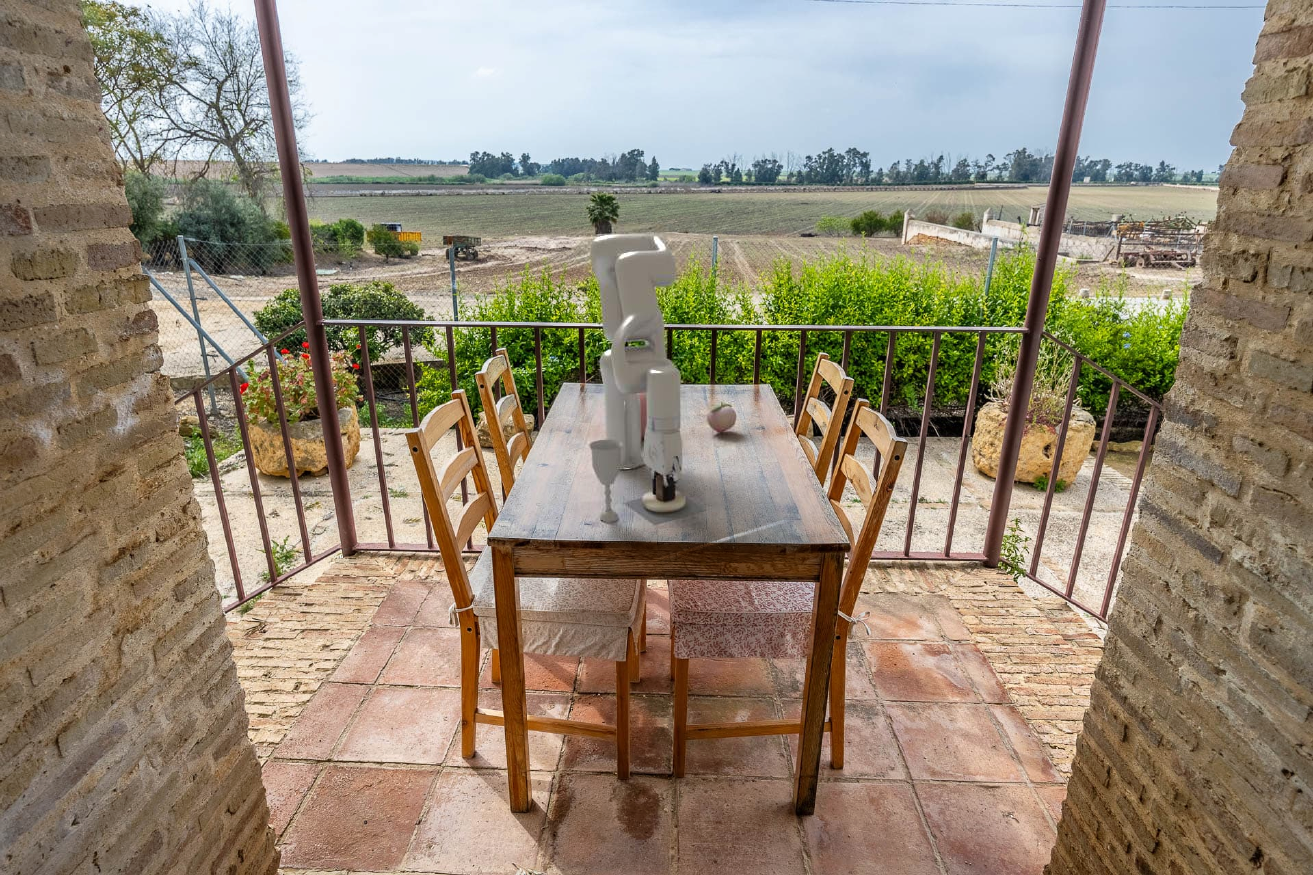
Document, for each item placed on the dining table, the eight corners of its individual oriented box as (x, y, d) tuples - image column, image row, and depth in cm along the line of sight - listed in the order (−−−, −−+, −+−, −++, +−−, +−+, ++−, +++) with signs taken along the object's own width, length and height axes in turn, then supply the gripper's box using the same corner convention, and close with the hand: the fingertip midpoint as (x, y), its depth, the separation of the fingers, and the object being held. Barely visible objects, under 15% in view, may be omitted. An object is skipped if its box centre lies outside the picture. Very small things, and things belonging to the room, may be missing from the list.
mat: (623, 504, 165) (623, 502, 165) (673, 492, 172) (673, 489, 171) (654, 527, 153) (654, 524, 153) (706, 512, 160) (706, 510, 160)
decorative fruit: (725, 440, 208) (726, 407, 205) (702, 435, 213) (702, 403, 210) (741, 431, 215) (742, 400, 212) (719, 427, 220) (719, 396, 217)
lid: (634, 500, 164) (634, 474, 162) (670, 490, 169) (670, 466, 167) (657, 515, 156) (656, 489, 154) (693, 505, 161) (694, 479, 159)
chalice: (625, 513, 160) (623, 439, 155) (624, 526, 154) (622, 449, 148) (593, 514, 160) (589, 439, 154) (591, 527, 154) (588, 450, 148)
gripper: (630, 415, 161) (632, 488, 167) (669, 435, 147) (669, 514, 153) (658, 409, 164) (658, 481, 170) (698, 429, 151) (697, 506, 157)
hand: (663, 496), depth 162 cm, fingers closed on lid, 3 cm apart
